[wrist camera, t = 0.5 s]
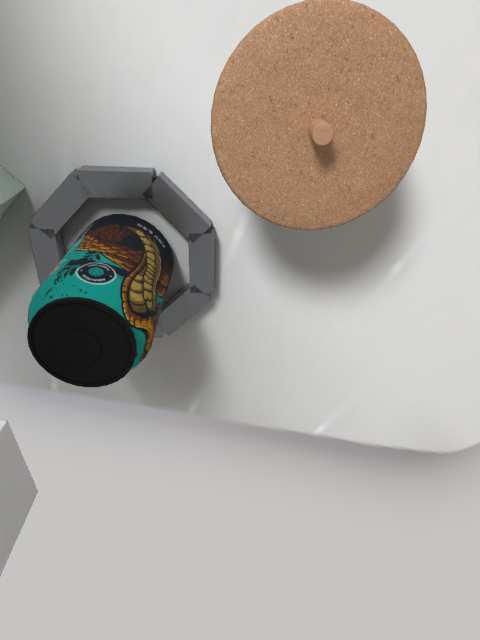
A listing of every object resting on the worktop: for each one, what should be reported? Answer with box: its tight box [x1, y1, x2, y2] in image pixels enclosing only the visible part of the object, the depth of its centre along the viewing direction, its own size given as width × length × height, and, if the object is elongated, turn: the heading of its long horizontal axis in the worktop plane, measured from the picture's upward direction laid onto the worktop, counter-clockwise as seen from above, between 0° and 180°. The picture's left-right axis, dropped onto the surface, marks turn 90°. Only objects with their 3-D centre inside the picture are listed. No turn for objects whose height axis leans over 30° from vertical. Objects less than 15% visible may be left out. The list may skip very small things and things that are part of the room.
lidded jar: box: [211, 0, 427, 230], centre depth 25 cm, size 11×11×9 cm
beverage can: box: [27, 214, 173, 387], centre depth 30 cm, size 7×7×12 cm
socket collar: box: [28, 166, 215, 337], centre depth 34 cm, size 13×13×1 cm
